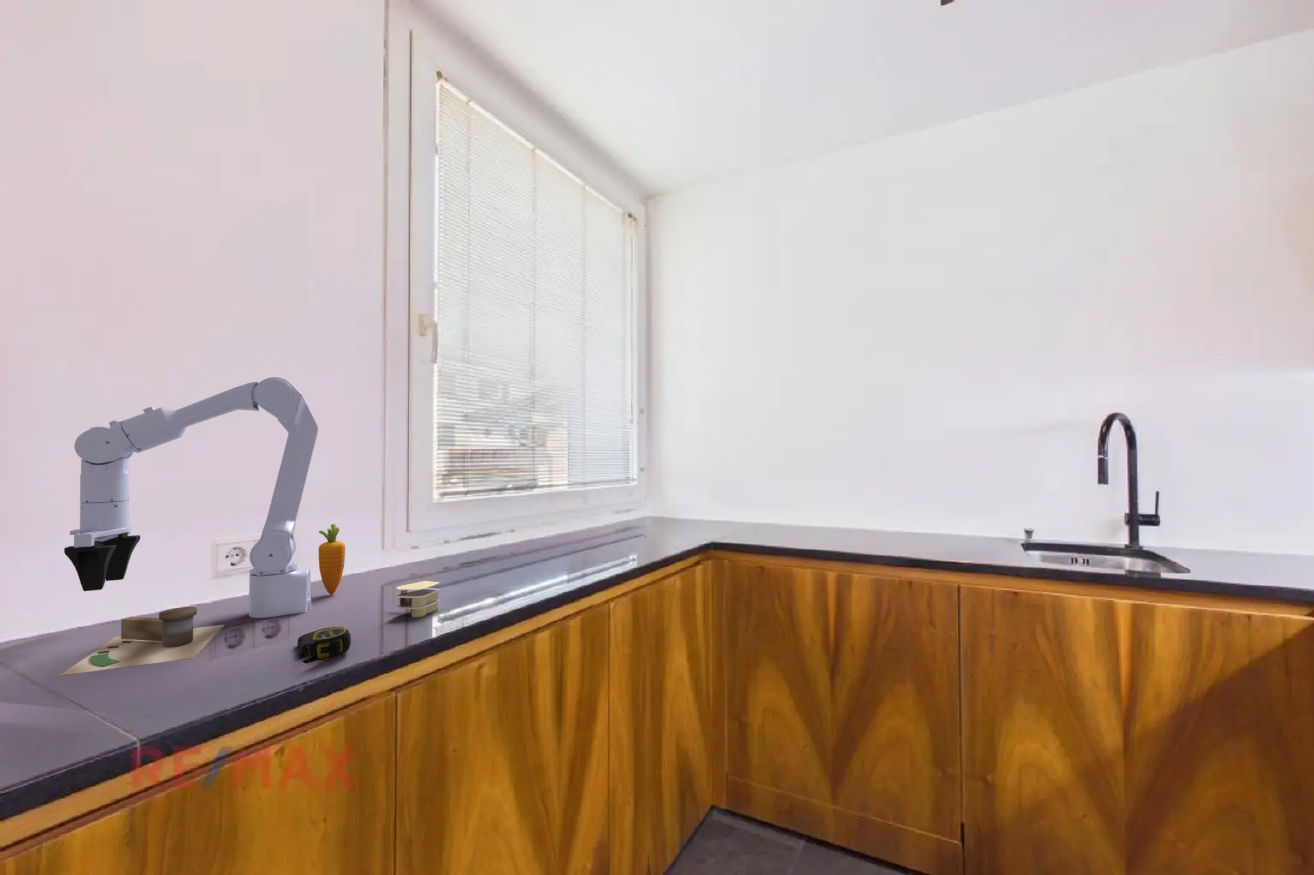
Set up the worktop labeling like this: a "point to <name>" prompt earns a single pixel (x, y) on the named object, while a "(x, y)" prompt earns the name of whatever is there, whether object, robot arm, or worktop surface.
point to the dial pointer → (161, 627)
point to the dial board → (142, 652)
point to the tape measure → (324, 644)
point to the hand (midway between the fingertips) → (104, 584)
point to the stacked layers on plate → (418, 598)
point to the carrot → (331, 559)
